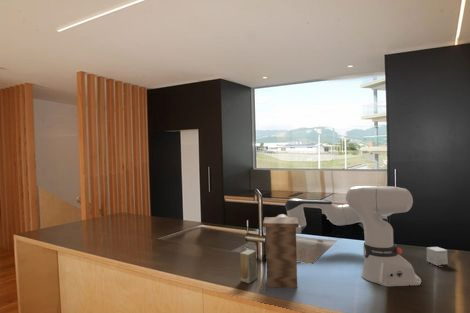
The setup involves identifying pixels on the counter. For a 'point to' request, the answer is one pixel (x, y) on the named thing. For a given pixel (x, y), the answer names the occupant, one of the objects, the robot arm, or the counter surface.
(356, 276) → the counter surface
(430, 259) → the skincare box
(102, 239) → the counter surface
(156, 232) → the counter surface
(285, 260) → the pedestal
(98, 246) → the counter surface
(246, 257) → the skincare box
